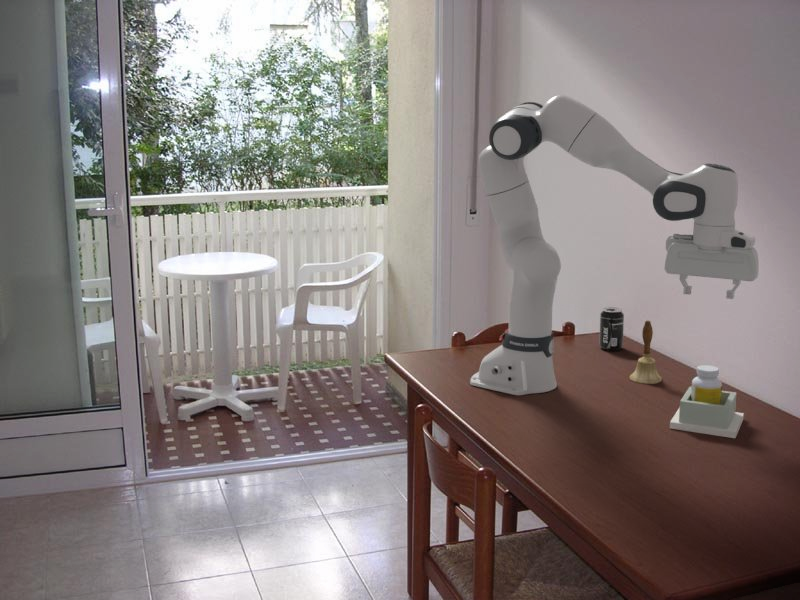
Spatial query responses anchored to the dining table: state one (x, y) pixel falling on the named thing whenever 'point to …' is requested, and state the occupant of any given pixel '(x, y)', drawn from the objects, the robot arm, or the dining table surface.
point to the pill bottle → (707, 385)
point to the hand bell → (646, 361)
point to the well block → (708, 416)
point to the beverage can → (611, 328)
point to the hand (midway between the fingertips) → (708, 296)
